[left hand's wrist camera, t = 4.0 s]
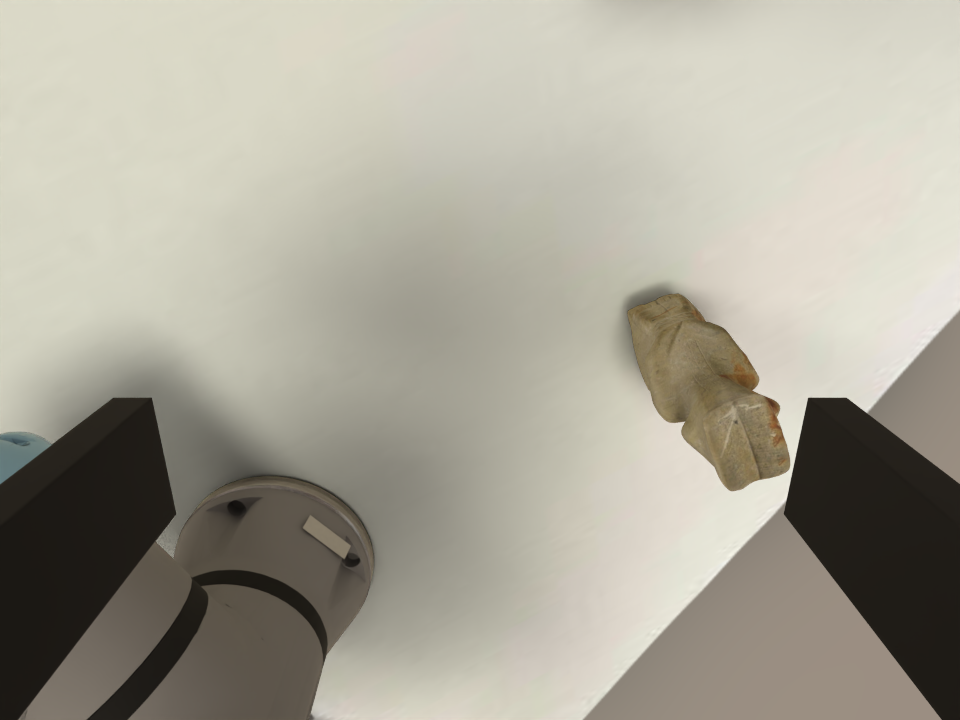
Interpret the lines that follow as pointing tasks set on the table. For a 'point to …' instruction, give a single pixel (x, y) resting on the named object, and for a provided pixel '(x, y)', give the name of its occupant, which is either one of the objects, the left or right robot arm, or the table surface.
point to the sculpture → (708, 391)
